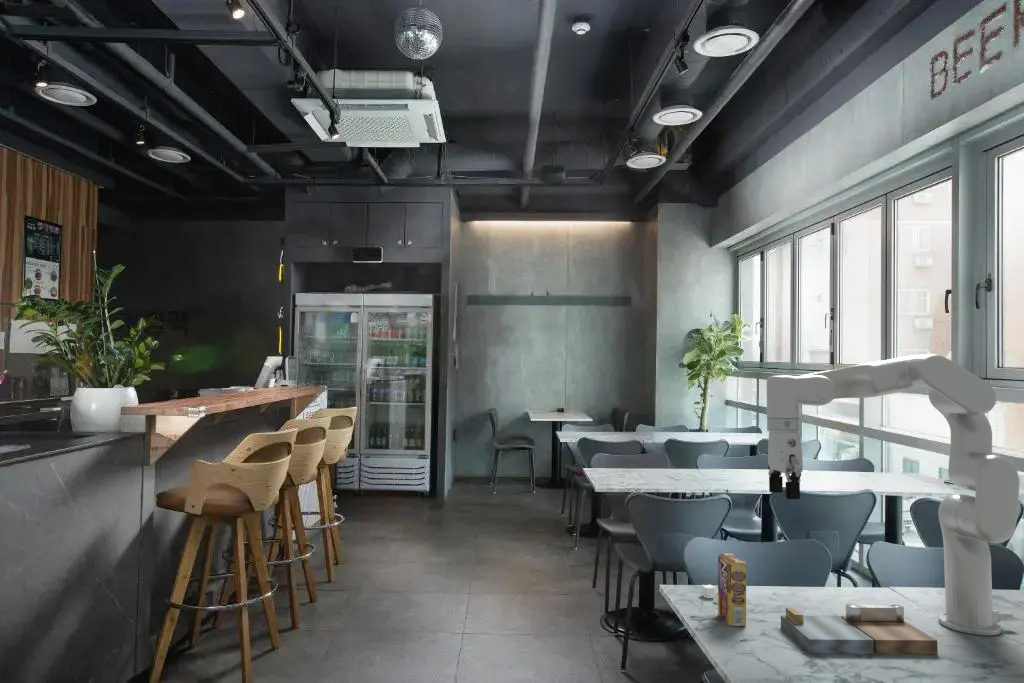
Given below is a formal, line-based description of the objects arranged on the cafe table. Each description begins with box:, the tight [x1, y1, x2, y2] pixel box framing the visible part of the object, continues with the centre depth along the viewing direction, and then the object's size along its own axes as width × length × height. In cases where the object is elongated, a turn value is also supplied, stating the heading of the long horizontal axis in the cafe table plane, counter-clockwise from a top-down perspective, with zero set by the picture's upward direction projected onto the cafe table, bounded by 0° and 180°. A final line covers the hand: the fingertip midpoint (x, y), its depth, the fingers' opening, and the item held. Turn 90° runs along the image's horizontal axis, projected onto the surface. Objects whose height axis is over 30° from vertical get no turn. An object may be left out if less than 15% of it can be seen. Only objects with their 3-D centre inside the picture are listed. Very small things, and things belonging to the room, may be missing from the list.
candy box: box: [717, 553, 747, 627], centre depth 164 cm, size 9×4×15 cm, turn 2°
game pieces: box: [700, 584, 718, 602], centre depth 177 cm, size 12×3×3 cm, turn 14°
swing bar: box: [845, 603, 905, 622], centre depth 156 cm, size 13×3×3 cm, turn 91°
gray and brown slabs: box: [780, 607, 939, 655], centre depth 151 cm, size 28×15×5 cm, turn 91°
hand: (784, 495), depth 162 cm, fingers open, 9 cm apart
